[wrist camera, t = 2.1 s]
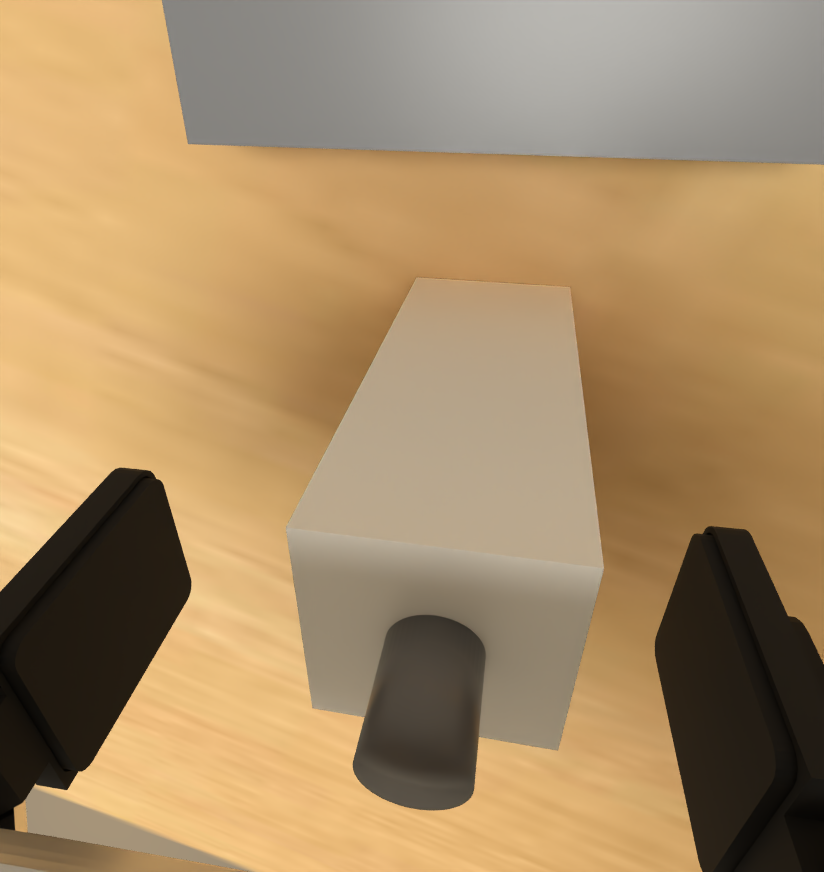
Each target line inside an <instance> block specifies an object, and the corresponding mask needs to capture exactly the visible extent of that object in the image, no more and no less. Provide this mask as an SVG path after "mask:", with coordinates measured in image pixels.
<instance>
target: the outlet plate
mask: <svg viewBox="0 0 824 872" xmlns="http://www.w3.org/2000/svg"><path fill="white" fill-rule="evenodd" d="M162 3H163V9H164V14H165V20H166V25H167V31H168V36H169V42H170V47H171V53H172V58H173V64H174V69H175V75H176V80H177V85H178V91H179V96H180V102H181V107H182V113H183V118H184V124H185V129H186V135H187V140H188V144H202V145H233V146H264V147H295V148H326V149H357V150H388V151H419V152H450V153H481V154H512V155H544V156H575V157H606V158H637V159H668V160H699V161H730V162H761V163H792V164H823V165H824V0H162Z"/></svg>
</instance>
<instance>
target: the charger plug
mask: <svg viewBox="0 0 824 872" xmlns="http://www.w3.org/2000/svg"><path fill="white" fill-rule="evenodd" d="M286 533H287V539H288V546H289V553H290V559H291V566H292V573H293V580H294V586H295V593H296V600H297V607H298V613H299V620H300V627H301V633H302V640H303V647H304V654H305V660H306V667H307V674H308V680H309V687H310V694H311V701H312V707H313V708H314V709H320V710H326V711H332V712H337V713H343V714H349V715H355V716H361V717H365V718H364V722H363V726H362V730H361V733H360V737H359V741H358V745H357V749H356V753H355V757H354V760H353V770H354V773H355V775H356V777H357V778H358V780H359V781H360V782H361V783H362V784H363V785H364V786H365V787H366V788H367V789H368V790H370V791H371V792H372V793H374V794H376V795H377V796H379V797H381V798H383V799H385V800H387V801H389V802H392V803H395V804H398V805H401V806H404V807H409V808H414V809H420V810H445V809H450V808H454V807H457V806H460V805H462V804H464V803H465V802H466V801H468V800H469V799H470V798H471V796H472V794H473V791H474V784H475V773H476V761H477V750H478V739H479V737H482V738H488V739H494V740H500V741H506V742H511V743H517V744H523V745H529V746H535V747H540V748H546V749H552V750H558V749H559V745H560V741H561V737H562V733H563V729H564V725H565V721H566V717H567V713H568V709H569V705H570V701H571V697H572V693H573V689H574V685H575V681H576V677H577V673H578V670H579V666H580V662H581V658H582V654H583V650H584V646H585V642H586V638H587V634H588V630H589V626H590V622H591V618H592V614H593V610H594V606H595V602H596V598H597V594H598V590H599V586H600V582H601V578H602V575H603V571H604V564H603V555H602V547H601V539H600V530H599V522H598V514H597V505H596V497H595V489H594V481H593V472H592V464H591V456H590V447H589V439H588V431H587V423H586V414H585V406H584V398H583V389H582V381H581V373H580V365H579V356H578V348H577V340H576V331H575V323H574V315H573V306H572V298H571V290H570V287H564V286H549V285H533V284H517V283H501V282H485V281H469V280H453V279H437V278H421V277H416V279H415V281H414V283H413V285H412V287H411V289H410V291H409V293H408V295H407V297H406V298H405V300H404V302H403V304H402V306H401V308H400V310H399V312H398V314H397V316H396V318H395V319H394V321H393V323H392V325H391V327H390V329H389V331H388V333H387V335H386V337H385V339H384V341H383V342H382V344H381V346H380V348H379V350H378V352H377V354H376V356H375V358H374V360H373V362H372V363H371V365H370V367H369V369H368V371H367V373H366V375H365V377H364V379H363V381H362V383H361V385H360V386H359V388H358V390H357V392H356V394H355V396H354V398H353V400H352V402H351V404H350V406H349V407H348V409H347V411H346V413H345V415H344V417H343V419H342V421H341V423H340V425H339V427H338V429H337V430H336V432H335V434H334V436H333V438H332V440H331V442H330V444H329V446H328V448H327V450H326V451H325V453H324V455H323V457H322V459H321V461H320V463H319V465H318V467H317V469H316V471H315V473H314V474H313V476H312V478H311V480H310V482H309V484H308V486H307V488H306V490H305V492H304V494H303V496H302V497H301V499H300V501H299V503H298V505H297V507H296V509H295V511H294V513H293V515H292V517H291V518H290V520H289V522H288V524H287V526H286Z"/></svg>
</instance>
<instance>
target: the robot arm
mask: <svg viewBox="0 0 824 872" xmlns="http://www.w3.org/2000/svg"><path fill="white" fill-rule="evenodd" d="M190 591H191V578H190V574H189V571H188V567H187V564H186V560H185V557H184V554H183V550H182V547H181V543H180V540H179V537H178V533H177V530H176V526H175V523H174V519H173V516H172V513H171V509H170V506H169V502H168V499H167V496H166V492H165V489H164V485H163V483H162V482H161V481H160V480H158V479H156V478H155V475H154V474H153V473H152V472H151V471H148V470H139V469H129V468H117V469H115V470H114V471H112V472H111V473H110V474H109V475H108V476H107V478H106V479H105V480H104V481H103V482H102V483H101V484H100V485H99V486H98V487H97V488H96V489H95V490H94V492H93V493H92V494H91V495H90V496H89V497H88V498H87V499H86V500H85V501H84V502H83V503H82V504H81V506H80V507H79V508H78V509H77V510H76V511H75V512H74V513H73V514H72V515H71V516H70V517H69V518H68V520H67V521H66V522H65V523H64V524H63V525H62V526H61V527H60V528H59V529H58V530H57V531H56V532H55V534H54V535H53V536H52V537H51V538H50V539H49V540H48V541H47V542H46V543H45V544H44V545H43V546H42V548H41V549H40V550H39V551H38V552H37V553H36V554H35V555H34V556H33V557H32V558H31V559H30V560H29V561H28V563H27V564H26V565H25V566H24V567H23V568H22V569H21V570H20V571H19V572H18V573H17V574H16V575H15V577H14V578H13V579H12V580H11V581H10V582H9V583H8V584H7V585H6V586H5V587H4V588H3V589H2V591H1V592H0V872H248V871H243V870H237V869H232V868H226V867H221V866H215V865H210V864H204V863H199V862H193V861H187V860H182V859H176V858H171V857H165V856H159V855H154V854H148V853H143V852H137V851H131V850H126V849H120V848H114V847H108V846H103V845H98V844H92V843H86V842H81V841H75V840H69V839H63V838H57V837H52V836H46V835H39V834H33V833H28V831H27V817H26V804H25V799H26V797H27V796H28V794H29V793H30V791H31V789H32V788H33V786H34V785H35V783H36V785H40V786H46V787H52V788H58V789H63V790H67V789H68V788H69V786H70V784H71V783H72V781H73V779H74V778H75V776H76V774H77V773H78V771H83V770H85V769H86V768H87V767H88V766H89V765H90V764H91V763H92V761H93V760H94V758H95V756H96V755H97V753H98V751H99V749H100V748H101V746H102V744H103V743H104V741H105V739H106V738H107V736H108V734H109V732H110V731H111V729H112V727H113V726H114V724H115V722H116V721H117V719H118V717H119V715H120V714H121V712H122V710H123V709H124V707H125V705H126V703H127V702H128V700H129V698H130V697H131V695H132V693H133V692H134V690H135V688H136V686H137V685H138V683H139V681H140V680H141V678H142V676H143V675H144V673H145V671H146V669H147V668H148V666H149V664H150V663H151V661H152V659H153V658H154V656H155V654H156V652H157V651H158V649H159V647H160V646H161V644H162V642H163V640H164V639H165V637H166V635H167V634H168V632H169V630H170V629H171V627H172V625H173V623H174V622H175V620H176V618H177V617H178V615H179V613H180V612H181V610H182V608H183V606H184V605H185V603H186V601H187V599H188V597H189V595H190ZM655 657H656V662H657V667H658V672H659V677H660V681H661V686H662V691H663V695H664V700H665V705H666V709H667V714H668V719H669V723H670V728H671V733H672V737H673V742H674V747H675V752H676V756H677V761H678V766H679V770H680V775H681V780H682V784H683V789H684V794H685V798H686V803H687V808H688V813H689V817H690V822H691V827H692V831H693V836H694V841H695V845H696V850H697V855H698V859H699V863H700V867H701V869H702V871H703V872H824V664H823V662H822V660H821V658H820V656H819V654H818V652H817V649H816V647H815V645H814V643H813V641H812V639H811V637H810V635H809V633H808V631H807V629H806V628H805V626H804V625H803V623H802V622H801V621H800V620H798V619H797V618H795V617H790V616H788V615H787V613H786V611H785V609H784V606H783V604H782V602H781V600H780V598H779V595H778V593H777V591H776V589H775V587H774V584H773V582H772V580H771V578H770V576H769V573H768V571H767V569H766V567H765V565H764V562H763V560H762V558H761V556H760V554H759V551H758V549H757V547H756V545H755V543H754V540H753V538H752V536H751V535H750V533H749V532H748V531H747V530H744V529H734V528H724V527H714V526H709V527H707V528H706V529H705V531H704V533H703V534H694V535H693V536H692V538H691V541H690V544H689V546H688V549H687V552H686V555H685V558H684V560H683V563H682V566H681V569H680V572H679V574H678V577H677V580H676V583H675V586H674V588H673V591H672V594H671V597H670V599H669V602H668V605H667V608H666V611H665V613H664V616H663V619H662V622H661V625H660V627H659V630H658V633H657V636H656V640H655Z"/></svg>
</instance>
